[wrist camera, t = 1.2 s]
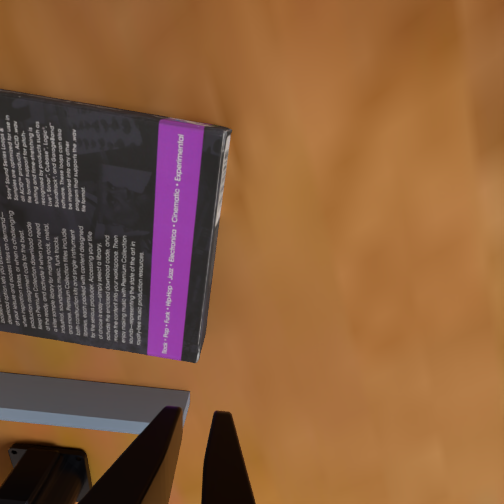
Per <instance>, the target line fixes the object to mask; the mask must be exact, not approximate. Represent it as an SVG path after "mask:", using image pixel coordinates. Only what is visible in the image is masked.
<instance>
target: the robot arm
mask: <svg viewBox="0 0 504 504" xmlns="http://www.w3.org/2000/svg"><path fill="white" fill-rule="evenodd" d="M182 433H183V410H182V408H181V407H177V406H165V407H164V408H163V409H162V410H161V411H160V412H159V413H158V414H157V416H156V417H155V418H154V419H153V420H152V421H151V422H150V423H149V424H148V426H147V427H146V428H145V429H144V430H143V431H142V432H141V433H140V434H139V436H138V437H137V438H136V439H135V440H134V441H133V442H132V443H131V445H130V446H129V447H128V448H127V449H126V450H125V451H124V452H123V453H122V455H121V456H120V457H119V458H118V459H117V460H116V461H115V462H114V463H113V465H112V466H111V467H110V468H109V469H108V470H107V471H106V472H105V473H104V475H103V476H102V477H101V478H100V479H99V480H98V481H97V482H96V484H95V485H94V486H93V487H92V482H91V476H90V471H89V465H88V459H87V454H86V453H85V452H83V451H79V450H70V449H60V448H51V447H41V446H31V445H22V444H13V445H12V446H11V447H10V449H9V450H8V452H9V455H10V459H11V462H12V465H13V468H14V469H13V470H12V471H11V473H10V474H9V476H8V477H7V478H6V480H5V481H4V483H3V484H2V485H1V487H0V504H75V502H78V504H168V502H169V498H170V493H171V488H172V483H173V479H174V474H175V469H176V464H177V459H178V455H179V450H180V445H181V440H182ZM201 504H256V503H255V499H254V496H253V492H252V488H251V484H250V481H249V477H248V473H247V470H246V466H245V462H244V458H243V455H242V451H241V447H240V443H239V440H238V436H237V432H236V429H235V425H234V421H233V417H232V414H231V413H230V412H225V411H215V412H214V415H213V419H212V424H211V429H210V433H209V438H208V443H207V448H206V452H205V458H204V466H203V481H202V501H201Z"/></svg>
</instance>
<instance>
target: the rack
mask: <svg viewBox="0 0 504 504" xmlns="http://www.w3.org/2000/svg"><path fill="white" fill-rule="evenodd" d="M189 404H190V391H180V390H170V389H161V388H151V387H141V386H131V385H121V384H111V383H101V382H91V381H81V380H72V379H62V378H52V377H42V376H32V375H22V374H12V373H2V372H0V420H7V421H16V422H26V423H36V424H45V425H55V426H65V427H74V428H84V429H94V430H104V431H113V432H123V433H133V434H140V433H141V432H142V431H143V430H144V429H145V428H146V427H147V426H148V424H149V423H150V422H151V421H152V420H153V419H154V418H155V417H156V416H157V414H158V413H159V412H160V411H161V410H162V409H163V408H164V407H165V406H177V407H181V408H182V410H183V426H184V422H185V419H186V415H187V411H188V408H189Z"/></svg>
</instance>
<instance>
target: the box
mask: <svg viewBox="0 0 504 504" xmlns="http://www.w3.org/2000/svg"><path fill="white" fill-rule="evenodd" d="M231 132H232V130H231V129H229V128H226V127H223V126H218V125H212V124H205V123H200V122H194V121H188V120H182V119H176V118H170V117H165V116H159V115H153V114H147V113H140V112H135V111H129V110H123V109H117V108H112V107H106V106H100V105H93V104H87V103H81V102H75V101H69V100H63V99H57V98H51V97H45V96H40V95H34V94H28V93H22V92H16V91H10V90H4V89H0V331H5V332H11V333H17V334H23V335H29V336H35V337H41V338H47V339H53V340H59V341H64V342H70V343H77V344H81V345H87V346H94V347H99V348H106V349H114V350H121V351H128V352H132V353H139V354H144V355H150V356H157V357H162V358H169V359H174V360H181V361H187V362H192V363H196V362H197V361H198V360H199V358H200V353H201V349H202V345H203V342H204V338H205V334H206V326H207V316H208V308H209V300H210V292H211V284H212V276H213V268H214V260H215V252H216V244H217V236H218V228H219V219H220V211H221V204H222V196H223V189H224V181H225V174H226V166H227V159H228V151H229V143H230V135H231Z"/></svg>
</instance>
